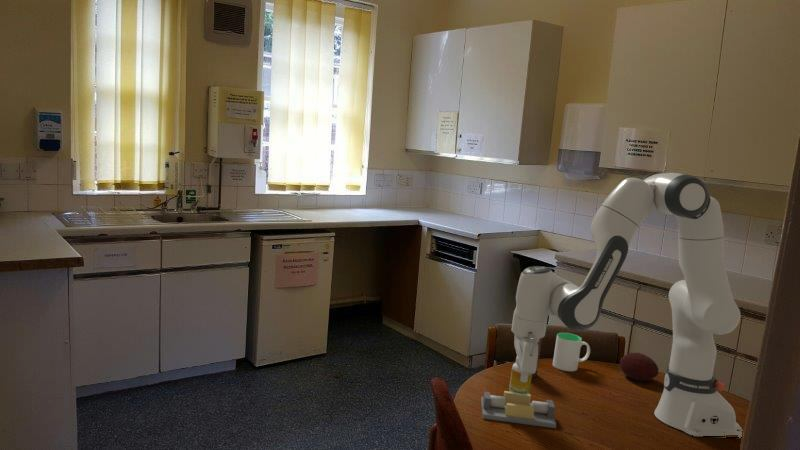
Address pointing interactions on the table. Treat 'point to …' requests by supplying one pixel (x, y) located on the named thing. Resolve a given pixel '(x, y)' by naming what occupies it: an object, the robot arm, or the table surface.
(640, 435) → the table surface
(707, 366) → the robot arm
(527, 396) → the grey slotted holder
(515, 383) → the supplement bottle
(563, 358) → the mug
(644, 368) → the potato
